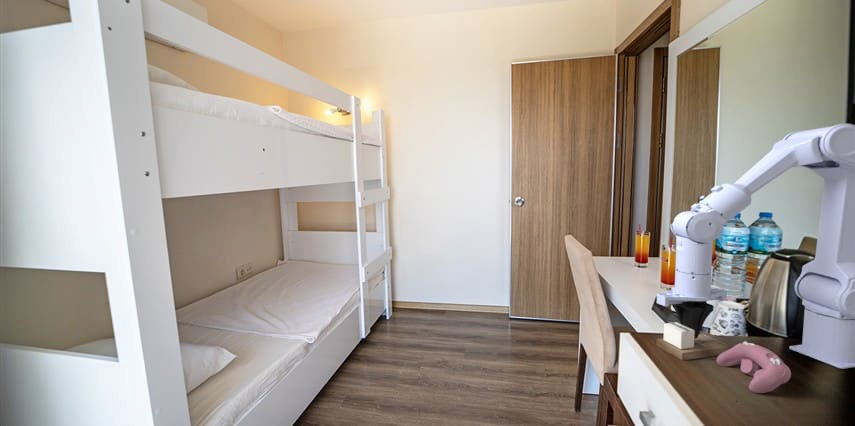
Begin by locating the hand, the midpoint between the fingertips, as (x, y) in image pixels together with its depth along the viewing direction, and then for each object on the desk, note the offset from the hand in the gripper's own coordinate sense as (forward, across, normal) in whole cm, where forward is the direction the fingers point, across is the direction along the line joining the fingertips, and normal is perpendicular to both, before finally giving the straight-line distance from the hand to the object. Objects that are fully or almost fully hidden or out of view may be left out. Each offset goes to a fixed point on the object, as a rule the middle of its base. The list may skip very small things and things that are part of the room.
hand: (690, 336), depth 70 cm
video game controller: (+3, -1, +11) cm, 11 cm away
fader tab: (+1, +3, 0) cm, 3 cm away
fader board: (+3, -2, 0) cm, 3 cm away
